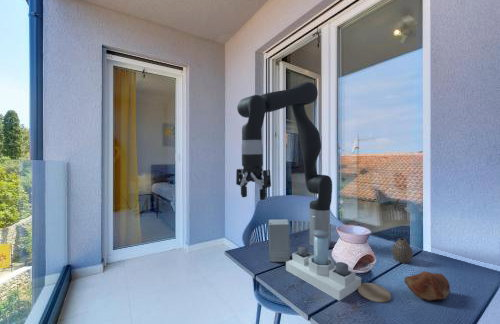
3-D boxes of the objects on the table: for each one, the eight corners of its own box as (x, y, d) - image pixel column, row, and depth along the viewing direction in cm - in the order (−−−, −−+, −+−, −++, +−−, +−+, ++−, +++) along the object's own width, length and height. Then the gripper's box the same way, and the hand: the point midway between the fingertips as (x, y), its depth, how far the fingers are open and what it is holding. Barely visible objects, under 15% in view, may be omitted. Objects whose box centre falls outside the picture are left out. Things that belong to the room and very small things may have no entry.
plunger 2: (340, 270, 75) (340, 261, 74) (350, 274, 72) (350, 265, 72) (333, 273, 72) (333, 264, 72) (343, 278, 70) (344, 268, 69)
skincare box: (288, 255, 96) (288, 218, 96) (290, 263, 89) (290, 223, 89) (268, 254, 97) (268, 218, 97) (268, 262, 90) (268, 223, 89)
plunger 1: (302, 253, 88) (302, 245, 88) (310, 256, 85) (310, 248, 85) (296, 255, 86) (296, 247, 85) (303, 259, 83) (303, 250, 82)
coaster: (366, 281, 76) (366, 279, 76) (396, 295, 69) (396, 293, 69) (351, 291, 71) (351, 289, 71) (382, 306, 64) (382, 304, 64)
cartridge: (319, 264, 82) (319, 228, 82) (332, 270, 78) (332, 232, 78) (310, 268, 79) (310, 231, 79) (322, 274, 75) (322, 235, 75)
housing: (307, 261, 91) (307, 246, 91) (361, 286, 73) (361, 268, 73) (285, 270, 84) (285, 254, 84) (339, 300, 66) (339, 280, 66)
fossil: (405, 289, 66) (414, 256, 69) (393, 287, 74) (401, 257, 77) (456, 315, 62) (462, 278, 65) (438, 310, 69) (444, 277, 73)
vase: (393, 263, 89) (394, 241, 89) (390, 255, 96) (390, 235, 95) (414, 266, 87) (415, 243, 86) (409, 258, 93) (410, 237, 93)
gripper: (274, 152, 79) (275, 198, 80) (244, 153, 89) (245, 194, 89) (261, 153, 74) (262, 202, 74) (230, 153, 83) (231, 197, 84)
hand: (253, 198), depth 82 cm, fingers open, 8 cm apart
